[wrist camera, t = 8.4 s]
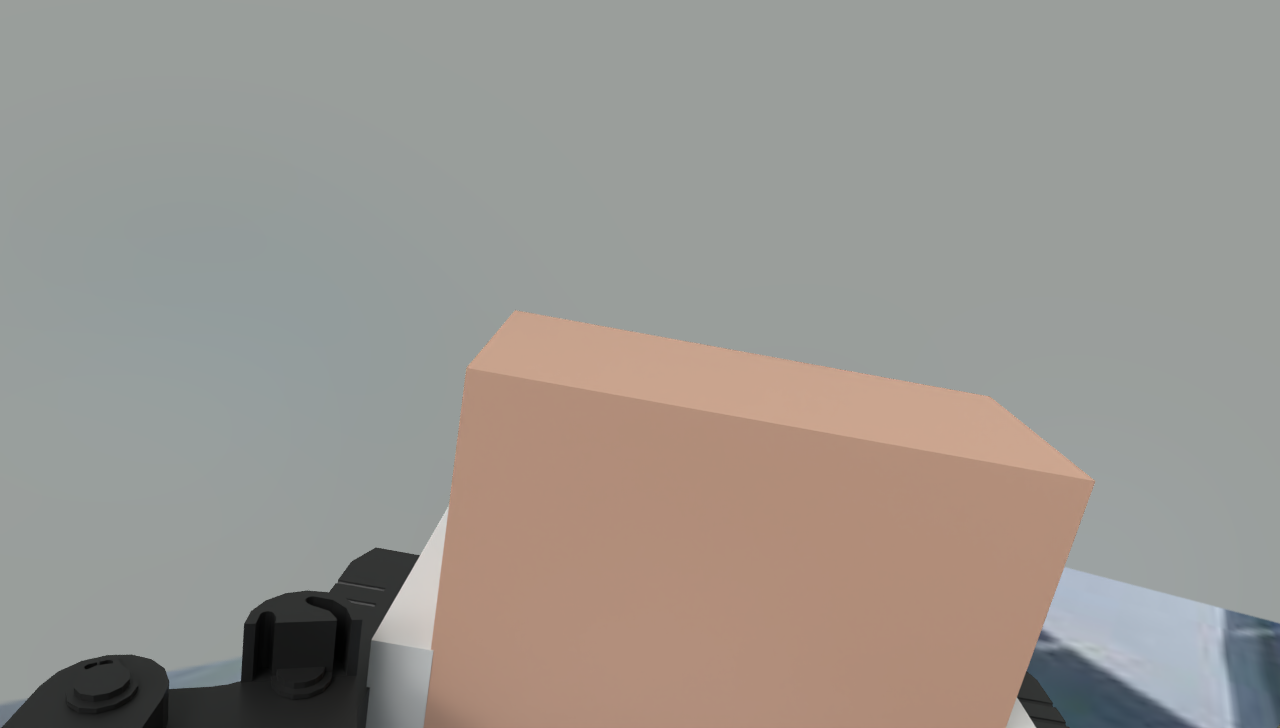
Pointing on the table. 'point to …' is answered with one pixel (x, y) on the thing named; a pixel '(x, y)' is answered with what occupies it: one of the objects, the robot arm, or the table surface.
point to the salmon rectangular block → (736, 542)
